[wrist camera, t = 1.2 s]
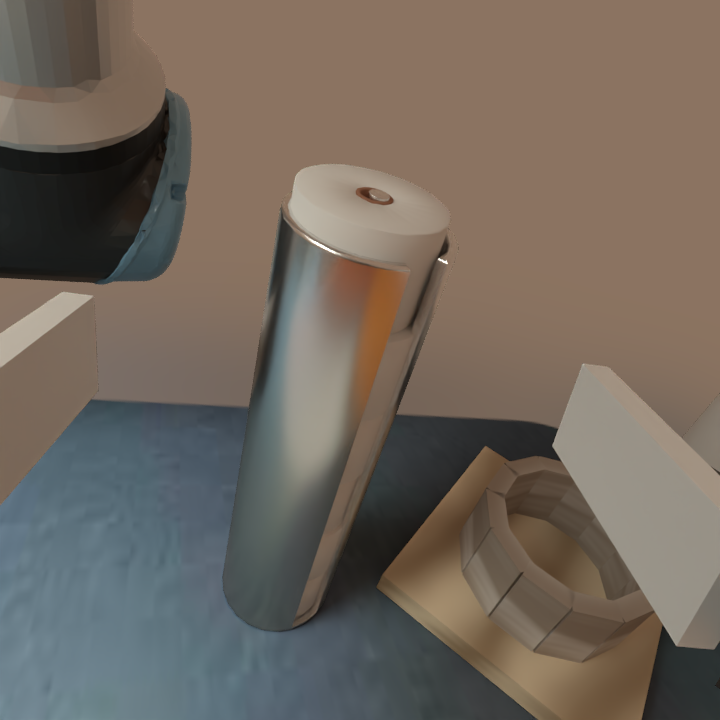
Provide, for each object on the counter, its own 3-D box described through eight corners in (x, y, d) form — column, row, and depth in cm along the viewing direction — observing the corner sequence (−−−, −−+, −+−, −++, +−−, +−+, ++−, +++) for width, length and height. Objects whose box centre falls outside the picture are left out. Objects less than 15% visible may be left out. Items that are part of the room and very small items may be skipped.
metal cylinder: (217, 633, 30) (287, 217, 15) (225, 531, 35) (284, 144, 20) (331, 632, 32) (494, 253, 17) (323, 534, 37) (444, 176, 22)
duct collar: (376, 587, 35) (405, 527, 31) (479, 457, 46) (509, 402, 42) (614, 782, 29) (686, 739, 25) (663, 579, 41) (717, 528, 37)
